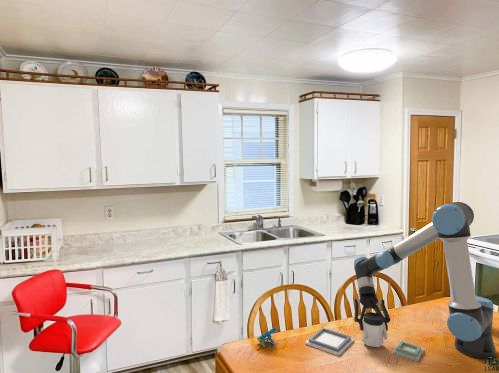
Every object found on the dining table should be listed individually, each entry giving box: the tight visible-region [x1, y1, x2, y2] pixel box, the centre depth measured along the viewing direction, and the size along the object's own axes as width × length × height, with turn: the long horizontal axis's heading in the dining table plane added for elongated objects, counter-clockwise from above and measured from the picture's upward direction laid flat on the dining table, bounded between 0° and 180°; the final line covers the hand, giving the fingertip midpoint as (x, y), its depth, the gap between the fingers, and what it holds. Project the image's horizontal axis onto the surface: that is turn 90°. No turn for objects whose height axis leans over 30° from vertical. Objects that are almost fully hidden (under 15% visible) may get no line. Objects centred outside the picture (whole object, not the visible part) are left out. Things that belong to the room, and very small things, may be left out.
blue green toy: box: [256, 327, 279, 348], centre depth 161 cm, size 11×6×10 cm
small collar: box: [392, 340, 425, 362], centre depth 154 cm, size 10×10×2 cm
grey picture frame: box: [305, 327, 355, 357], centre depth 162 cm, size 16×16×2 cm
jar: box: [361, 311, 385, 348], centre depth 160 cm, size 9×8×12 cm
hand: (375, 338), depth 157 cm, fingers closed on jar, 8 cm apart
